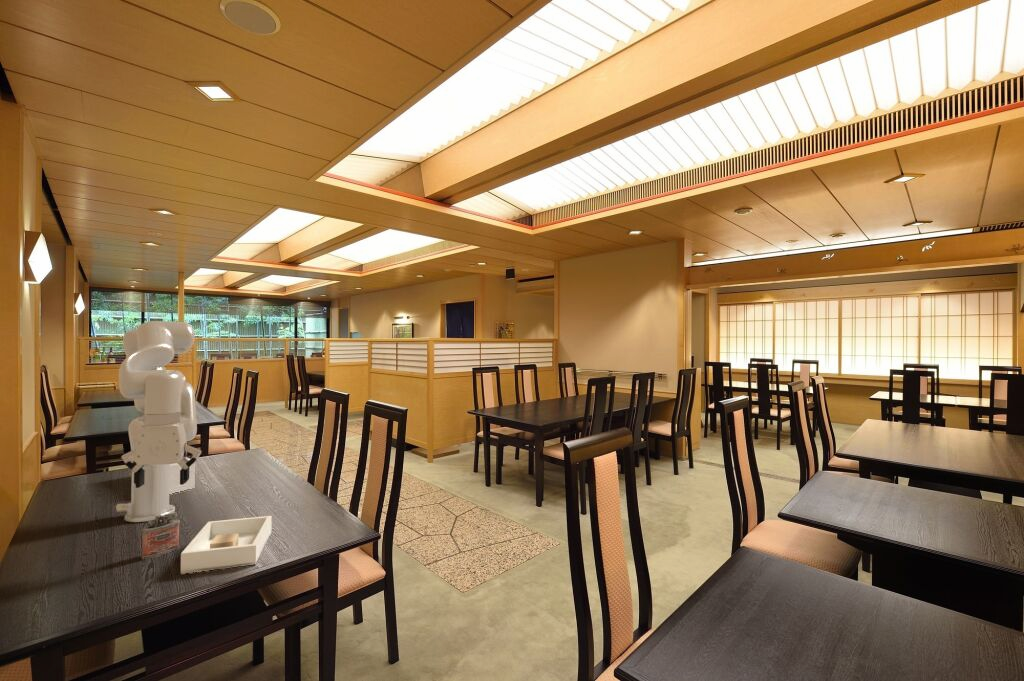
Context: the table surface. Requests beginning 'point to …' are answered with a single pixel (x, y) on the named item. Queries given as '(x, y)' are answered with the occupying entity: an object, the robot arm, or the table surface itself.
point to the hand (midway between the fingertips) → (162, 484)
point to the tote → (247, 552)
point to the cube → (224, 541)
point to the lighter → (160, 536)
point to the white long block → (175, 478)
